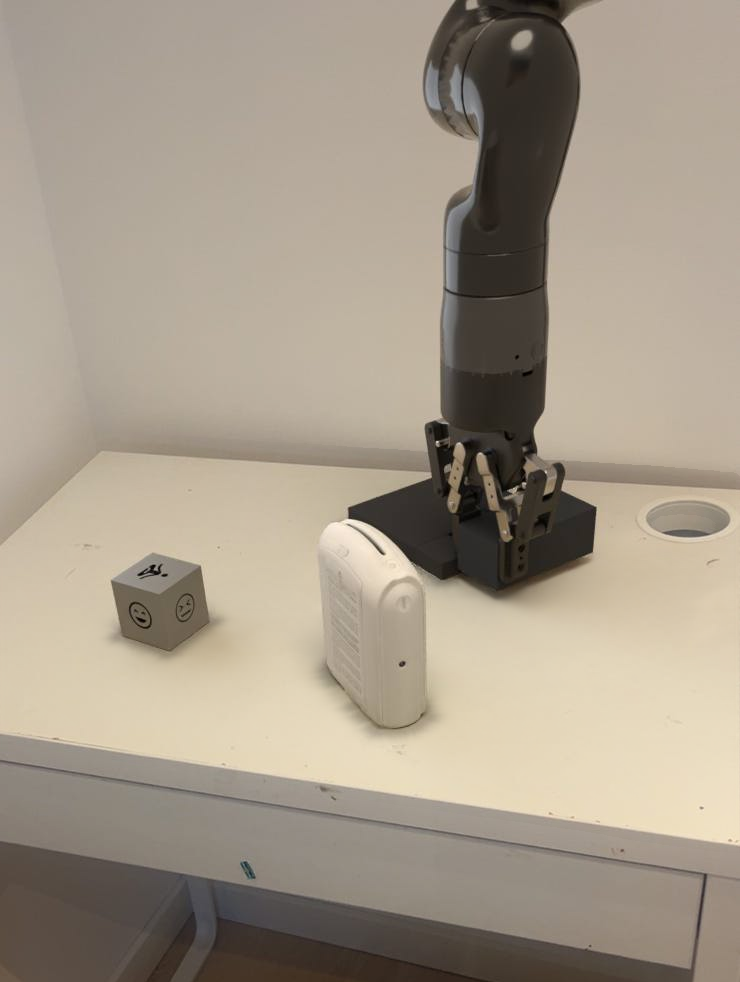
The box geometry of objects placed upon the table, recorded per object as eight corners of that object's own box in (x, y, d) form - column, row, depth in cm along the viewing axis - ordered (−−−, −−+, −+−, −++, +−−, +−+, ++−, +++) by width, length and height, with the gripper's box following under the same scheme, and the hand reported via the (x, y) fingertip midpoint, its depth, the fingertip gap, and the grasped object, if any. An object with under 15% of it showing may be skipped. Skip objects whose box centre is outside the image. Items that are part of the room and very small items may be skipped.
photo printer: (436, 718, 80) (434, 556, 73) (380, 737, 79) (372, 575, 71) (370, 650, 88) (362, 497, 80) (319, 666, 87) (305, 513, 79)
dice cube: (162, 607, 96) (152, 552, 93) (209, 621, 93) (200, 565, 90) (122, 635, 93) (110, 580, 90) (169, 651, 90) (159, 594, 87)
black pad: (454, 484, 109) (454, 469, 108) (555, 535, 99) (556, 519, 99) (348, 522, 105) (347, 507, 104) (442, 580, 95) (442, 563, 94)
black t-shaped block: (524, 517, 100) (526, 473, 98) (593, 552, 95) (597, 506, 92) (431, 553, 97) (430, 508, 94) (496, 592, 91) (497, 545, 89)
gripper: (391, 339, 86) (398, 549, 96) (518, 389, 76) (510, 617, 86) (472, 315, 88) (470, 522, 99) (605, 360, 78) (587, 585, 89)
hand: (489, 565), depth 93 cm, fingers closed on black t-shaped block, 5 cm apart
